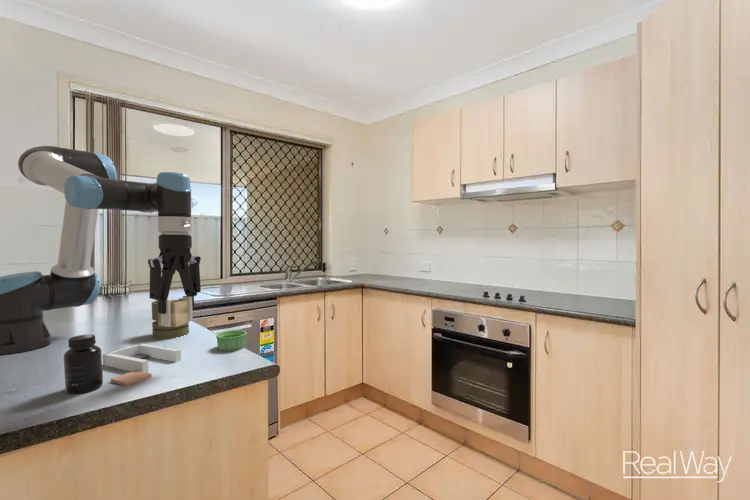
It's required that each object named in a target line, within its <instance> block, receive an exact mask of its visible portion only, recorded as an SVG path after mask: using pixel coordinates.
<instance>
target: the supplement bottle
mask: <svg viewBox="0 0 750 500" xmlns="http://www.w3.org/2000/svg"><path fill="white" fill-rule="evenodd" d="M67 342H68V346H67V347H68V348H69V349H67V351H65V352H64V355H63V370H64V371H63V372H64V385H65V388H64V389H65V392H66V393H67V394H68V395H81V394H86V393H89V392H92V391H95V390H98V389H99V388H101V386H103V382H104V375H103V374H104V373H103V372H104V371H103V353H102V350H101V347H100V346H98V345H95V344H96V343H97V341H96V336H95V334H90V333H89V334H82V335H81V334H80V335H76V336H72V337H69V338H68V340H67Z"/></svg>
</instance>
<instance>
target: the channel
mask: <svg viewBox="0 0 750 500" xmlns="http://www.w3.org/2000/svg"><path fill="white" fill-rule="evenodd" d="M181 353H182V351H181V349H178V348H172V347H166V346H161V345H154V344H148V343H140V344H136V345H132V346H129V347H124V348H121V349H118V350H114V351H110V352H107V353H104V354H103V353H102V366H105V367H108V366H109V368H113V367H114V369H119V370H123V371H129V372H132V371H135V370H137V371H141V372H146V373H149V360H148V358H152V359H158V360H164V361H169V362H175V363H178V362H181V360H182V357H181V355H182V354H181Z"/></svg>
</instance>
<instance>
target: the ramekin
mask: <svg viewBox="0 0 750 500" xmlns="http://www.w3.org/2000/svg"><path fill="white" fill-rule="evenodd" d="M247 334H248V333H247V331H245V330H241V329H236V330H235V329H233V330H225V331H222V332H219V333H216V335H215V338H216V341H217V342H216V343H217V349H218V350H219V351H222V352H231V351H238V350H242V349H243V348H245V347H246V343H247V342H246V341H247Z"/></svg>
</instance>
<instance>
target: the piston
mask: <svg viewBox="0 0 750 500" xmlns="http://www.w3.org/2000/svg"><path fill="white" fill-rule="evenodd" d="M178 300H183V299H182V298H178ZM151 319H152V320H153V322H151V325H152V326H151V327H152V330H151V331H152V338H153V339H154V340H171V339H172V338H173V339H177V338H176V337H178V338H182V337H181V336H183V337H185V336H184V335H186V336H188V335H189V334H188V333H190V322H189V323H186V324H183V325H180V326H177V327H165V326H158V301H157V300H153V301H152V302H151ZM187 334H188V335H187Z"/></svg>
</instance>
